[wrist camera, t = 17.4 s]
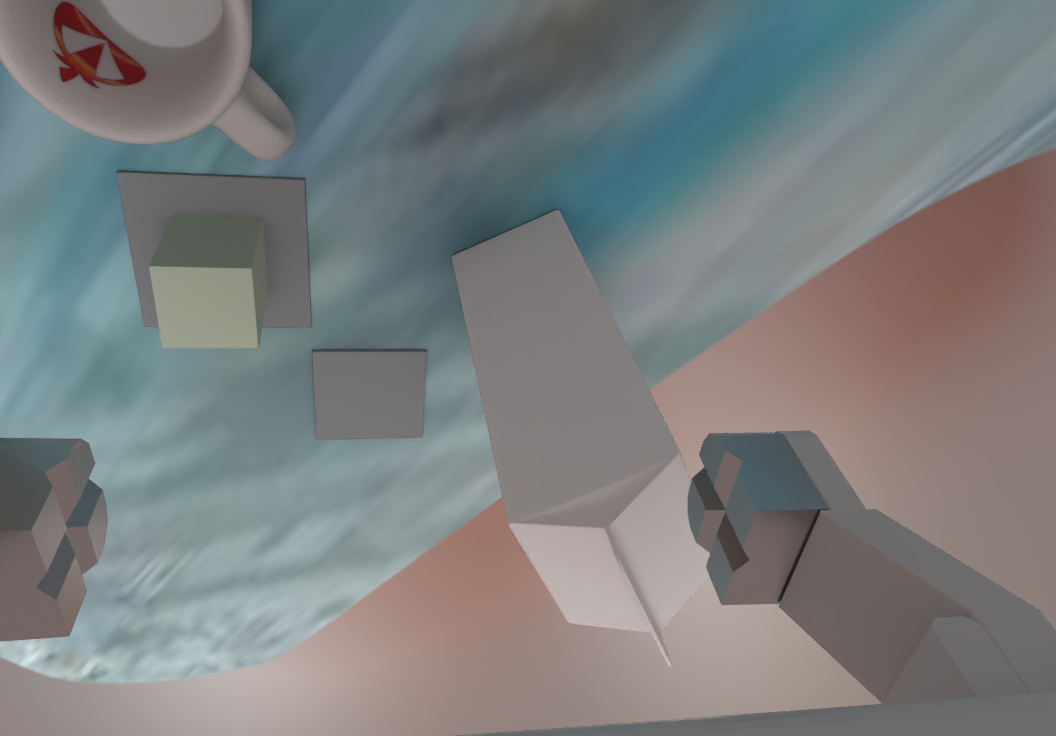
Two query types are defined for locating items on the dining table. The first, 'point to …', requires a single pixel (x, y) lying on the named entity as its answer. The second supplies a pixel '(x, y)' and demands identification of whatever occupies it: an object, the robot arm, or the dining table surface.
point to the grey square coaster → (369, 393)
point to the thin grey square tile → (230, 197)
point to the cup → (145, 69)
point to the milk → (577, 435)
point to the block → (210, 282)
